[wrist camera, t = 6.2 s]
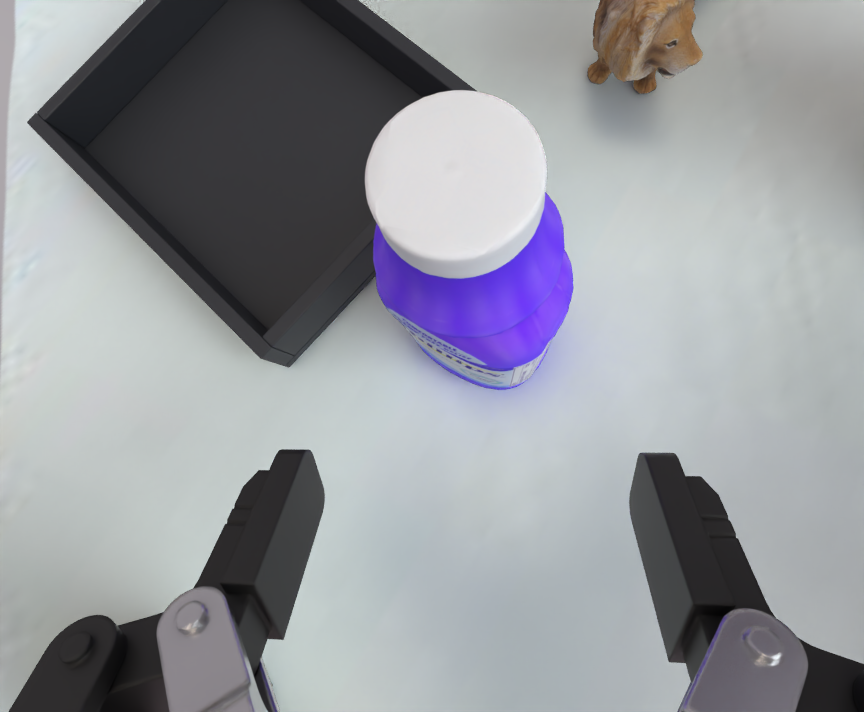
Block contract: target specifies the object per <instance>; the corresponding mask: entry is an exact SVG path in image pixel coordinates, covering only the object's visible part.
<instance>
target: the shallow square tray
mask: <svg viewBox="0 0 864 712" xmlns="http://www.w3.org/2000/svg"><path fill="white" fill-rule="evenodd" d="M452 90H468V91H476V90H475V89H473V88H472V87H471V86H469V85H468V84H467V83H466V82H464V81H463V80H462V79H460V78H459V77H458V76H456V75H455V74H454V73H452V72H451V71H450V70H449V69H447V68H446V67H445V66H443V65H442V64H441V63H439V62H438V61H437V60H435V59H434V58H433V57H432V56H430V55H429V54H428V53H426V52H425V51H424V50H422V49H421V48H420V47H418V46H417V45H416V44H414V43H413V42H412V41H411V40H409V39H408V38H407V37H405V36H404V35H403V34H401V33H400V32H399V31H397V30H396V29H395V28H394V27H392V26H391V25H390V24H388V23H387V22H386V21H384V20H383V19H382V18H380V17H379V16H378V15H376V14H375V13H374V12H373V11H371V10H370V9H369V8H367V7H366V6H365V5H363V4H362V3H361V2H359V1H358V0H146V1H145V2H144V3H143V4H142V5H141V6H140V7H139V8H138V9H137V10H136V11H135V12H134V13H133V14H132V15H131V16H130V17H129V18H128V19H127V20H126V21H125V22H124V23H123V24H122V25H121V26H120V27H119V28H118V29H117V30H116V31H115V32H114V34H113V35H112V36H111V37H110V38H109V39H108V40H107V41H106V42H105V43H104V44H103V45H102V46H101V47H100V48H99V49H98V50H97V51H96V52H95V53H94V54H93V55H92V56H91V57H90V58H89V59H88V60H87V61H86V62H85V63H84V64H83V65H82V66H81V67H80V68H79V70H78V71H77V72H76V73H75V74H74V75H73V76H72V77H71V78H70V79H69V80H68V81H67V82H66V83H65V84H64V85H63V86H62V87H61V88H60V89H59V90H58V91H57V92H56V93H55V94H54V95H53V96H52V97H51V98H50V99H49V100H48V101H47V102H46V103H45V104H44V106H43V107H42V108H41V109H40V110H39V111H38V112H37V113H38V114H37V113H35V114H34V115H33V117H32V118H31V119H30V120H29V121H28V122H27V123H28V124H29V125H30V126H31V127H32V128H33V129H34V130H35V131H36V132H37V133H38V134H39V135H40V136H41V137H42V138H43V139H44V140H45V141H46V142H47V143H48V144H49V145H50V146H51V147H52V148H53V149H54V150H55V151H56V152H57V153H58V154H59V156H60V157H61V158H62V159H63V160H64V161H65V162H66V163H67V164H68V165H69V166H70V167H71V168H72V169H73V170H74V171H75V172H76V173H77V174H78V175H79V176H80V177H81V178H82V179H83V180H84V181H85V182H86V183H87V184H88V185H89V186H90V187H91V188H92V189H93V190H94V191H95V192H96V193H97V194H98V195H99V196H100V197H101V198H102V199H103V200H104V201H105V202H106V203H107V204H108V205H109V206H110V207H111V208H112V209H113V210H114V211H115V212H116V213H117V214H118V215H119V216H120V217H121V218H122V219H123V220H124V221H125V222H126V223H127V224H128V225H129V226H130V227H131V228H132V229H133V230H134V231H135V232H136V233H137V234H138V235H139V236H140V237H141V238H142V239H143V240H144V241H145V242H146V243H147V244H148V245H149V246H150V247H151V248H152V249H153V250H154V251H155V252H156V253H157V254H158V255H159V256H160V257H161V258H162V259H163V260H164V261H165V262H166V263H167V264H168V265H169V266H170V267H171V268H172V270H173V271H174V272H175V273H176V274H177V275H178V276H179V277H180V278H181V279H182V280H183V281H184V282H185V283H186V284H187V285H188V286H189V287H190V288H191V289H192V290H193V291H194V292H195V293H196V294H197V295H198V296H199V297H200V298H201V299H202V300H203V301H204V302H205V303H206V304H207V305H208V306H209V307H210V308H211V309H212V310H213V311H214V312H215V313H216V314H217V315H218V316H219V317H220V318H221V319H222V320H223V321H224V322H225V323H226V324H227V325H228V326H229V327H230V328H231V329H232V330H233V331H234V332H235V333H236V334H237V335H238V336H239V337H240V338H241V339H242V340H243V341H244V342H245V343H246V344H247V345H248V346H249V347H250V348H251V349H252V350H253V351H254V352H255V353H256V354H257V355H258V356H259V357H260V358H261V359H264V360H267V361H270V362H274V363H277V364H280V365H283V366H286V367H290V366H291V365H292V364H293V363H294V362H295V361H296V359H297V358H298V357H299V356H300V355H301V354H302V353H303V352H304V351H305V350H306V349H307V348H308V347H309V346H310V345H311V343H312V342H313V341H314V340H315V339H316V338H317V337H318V336H319V335H320V334H321V333H322V332H323V331H324V330H325V329H326V327H327V326H328V325H329V324H330V323H331V322H332V321H333V320H334V319H335V318H336V317H337V316H338V315H339V314H340V313H341V311H342V310H343V309H344V308H345V307H346V306H347V305H348V304H349V303H350V302H351V301H352V300H353V299H354V298H355V297H356V295H357V294H358V293H359V292H360V291H361V290H362V289H363V288H364V287H365V286H366V285H367V284H368V283H369V282H370V280H371V279H372V278H373V277H374V276H375V275H376V271H375V267H374V262H373V246H374V243H373V241H374V234H375V228H376V224H377V223H376V221H375V219H374V218H373V215H372V213H371V210H370V208H369V205H368V202H367V198H366V189H365V170H366V164H367V160H368V157H369V154H370V152H371V149H372V146H373V144H374V141H375V140H376V138H377V137H378V135H379V133H380V132H381V130H382V129H383V127H384V126H385V125H386V124H387V123H388V122H389V121H390V120H391V119H392V118H393V117H394V116H395V115H396V114H397V113H398V112H400V111H401V110H402V109H404V108H405V107H407V106H408V105H410V104H412V103H414V102H416V101H418V100H420V99H421V98H423V97H426V96H430V95H433V94H436V93H439V92H445V91H452ZM476 92H477V91H476Z"/></svg>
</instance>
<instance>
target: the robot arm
mask: <svg viewBox="0 0 864 712" xmlns="http://www.w3.org/2000/svg"><path fill="white" fill-rule="evenodd" d="M324 499H325V495H324V488H323V484H322V481H321V478H320V475H319V472H318V469H317V466H316V462H315V459H314V456H313V454H312V452H311V451H310V450H283V449H282V450H279V451H278V453H277V454H276V456H275V458H274V461H273V463H272V465H271V467H270V470H259V471H258V472H257V473H256V474H255V475H254V476H253V477H252V478H251V479H250V480H249V481H248V482H247V483H246V484H245V485H244V486H243V488H242V490H241V492H240V495H239V497H238V499H237V501H236V503H235V508H234V509H232V511H231V513H230V515H229V517H228V520H227V524H225V526H224V528H223V530H222V532H221V534H220V536H219V538H218V540H217V542H216V545H215V547H214V549H213V551H212V553H211V555H210V557H209V559H208V561H207V563H206V565H205V567H204V570H203V572H202V574H201V576H200V578H199V580H198V582H197V583H196V585H195V586H194V588H193V589H191V590H189V591H187V592H185V593H183V594H182V595H180V596H179V597H177V598H176V599H175V600H174V601H173V602H172V603H171V604H170V605H169V606H168V607H167V608H166V610H165V611H164V612H163V613H160V614H157V615H154V616H150V617H147V618H143V619H140V620H136V621H133V622H129V623H126V624H122V625H119V626H117V625H116V624H115V623H114V622H113V621H112V620H111V619H110V618H108V617H106V616H103V615H93V616H88V617H85V618H83V619H80V620H78V621H76V622H74V623H73V624H71V625H70V626H68V627H67V628H65V629H64V630H63V631H62V632H60V633H59V634H58V635H57V636H56V637H55V638H54V640H53V641H52V642H51V643H50V645H49V646H48V648H47V649H46V650H45V652H44V654H43V655H42V657H41V659H40V660H39V662H38V664H37V665H36V667H35V669H34V670H33V672H32V674H31V675H30V677H29V679H28V680H27V682H26V684H25V685H24V687H23V689H22V690H21V692H20V694H19V695H18V697H17V699H16V700H15V702H14V704H13V705H12V707H11V709H10V710H9V712H280V709H279V706H278V703H277V700H276V697H275V694H274V691H273V688H272V685H271V682H270V679H269V676H268V673H267V670H266V667H265V664H264V661H263V659H262V653H263V650H264V647H265V644H266V641H267V639H281V640H283V639H284V636H285V633H286V630H287V626H288V623H289V620H290V617H291V613H292V610H293V607H294V604H295V600H296V597H297V594H298V591H299V587H300V584H301V581H302V578H303V574H304V571H305V568H306V565H307V562H308V558H309V555H310V552H311V549H312V545H313V542H314V539H315V536H316V532H317V529H318V526H319V523H320V519H321V516H322V513H323V509H324ZM629 504H630V515H631V520H632V524H633V528H634V531H635V535H636V539H637V543H638V547H639V550H640V554H641V558H642V562H643V566H644V569H645V573H646V577H647V581H648V585H649V588H650V592H651V596H652V600H653V604H654V607H655V611H656V615H657V619H658V622H659V626H660V630H661V634H662V638H663V641H664V645H665V649H666V653H667V657H668V660H669V662H677V663H686V666H687V669H688V673H689V676H690V680H691V683H690V685H689V687H688V689H687V691H686V694H685V696H684V698H683V700H682V702H681V704H680V707H679V709H678V711H677V712H864V664H862V663H859V662H856V661H853V660H850V659H847V658H844V657H841V656H838V655H835V654H832V653H830V652H827V651H824V650H821V649H818V648H816V647H813V646H811V645H809V644H807V643H806V642H804V641H802V640H801V639H799V638H797V637H796V635H795V634H794V633H793V632H792V631H791V630H790V629H789V628H788V627H787V626H786V625H785V624H783V623H782V622H781V621H780V620H778V619H776V617H775V616H774V615H773V613H772V612H771V610H770V609H769V607H768V605H767V603H766V601H765V599H764V596H763V594H762V592H761V590H760V587H759V585H758V583H757V580H756V578H755V576H754V574H753V571H752V569H751V567H750V565H749V562H748V560H747V558H746V556H745V553H744V551H743V549H742V547H741V544H740V542H739V540H738V538H736V533H735V531H734V529H733V526H732V524H731V522H730V521H729V520H728V515H727V513H726V511H725V508H724V506H723V504H722V502H721V499H720V497H719V495H718V494H717V493H716V492H715V491H714V490H713V489H712V488H711V487H710V486H709V485H708V484H707V483H706V481H705V480H704V479H703V478H702V477H700V476H685V474H684V472H683V469H682V467H681V464H680V462H679V459H678V457H677V456H676V454H674V453H640V454H639V456H638V459H637V464H636V468H635V473H634V477H633V482H632V487H631V491H630V500H629Z"/></svg>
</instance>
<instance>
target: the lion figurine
mask: <svg viewBox="0 0 864 712" xmlns="http://www.w3.org/2000/svg"><path fill="white" fill-rule="evenodd" d="M694 5H695V0H600V3H599V8H598V9H597V11H596V13H595V21H594V26H593V36H594V39H593V47H594V49H595V50H596V51H597V52H598V57H599V58H598V60H597V62H595V63H593V64H591V65H590V66H589V68H588V78H589V79H590V81H591V82H593V83H597V84H602V83H603V82H604V81H605V80H606V79H607V78H608V76H609V75H610V74H611V72H613V73H614V75H615V76H616V78H617V79H618V80H622V81H623V82H626V81H632V80H634V83H633V86H634V89H635V90H636V91H637V92H638V93H639V94H642V93H649V92H651V91H653V90H655V88H656V79H655V73H656V70H657V71H658V72H659V73H661V75H662V76H663V77H664V78H666V79H671V78H672V77H674V76H675V75H676V74H678V73H680V72H682V71H684V70H686V69H687V68H688V67H690V66H692V65H695V64H697V63H698V62H699V61H700V60H701V59H702V57H703V53H702V51H701V49H700V48H699V46H698V45H697V43H696V41H695V39H694V37H693V35H692V32H691V30H692V27H693V23H694V21H695V14H694V12H693V10H692V9H693V8H694Z"/></svg>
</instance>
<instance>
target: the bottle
mask: <svg viewBox="0 0 864 712" xmlns="http://www.w3.org/2000/svg"><path fill="white" fill-rule="evenodd" d="M546 182H547V160H546V155H545V151H544V148H543V145H542V142H541V140H540V137H539V135H538V133H537V132H536V130H535V128H534V127H533V125H532V124H531V123H530V121H529V120H528V119H527V117H526V116H525V115H523V114H522V113H521V112H520V111H518V110H517V109H516V108H515V107H514V106H512V105H511V104H509V103H508V102H506V101H504V100H502V99H500V98H498V97H496V96H493V95H489V94H486V93H482V92H476V91H468V90H452V91H445V92H439V93H436V94H433V95H430V96H426V97H423V98H421V99H420V100H418V101H416V102H414V103H412V104H410V105H408V106H407V107H405V108H404V109H402V110H401V111H400V112H398V113H397V114H396V115H395V116H394V117H393V118H392V119H391V120H390V121H389V122H388V123H387V124H386V125H385V126H384V127H383V129H382V130H381V132H380V133H379V135H378V137H377V138H376V140H375V141H374V144H373V146H372V149H371V152H370V154H369V157H368V160H367V164H366V170H365V189H366V198H367V202H368V205H369V208H370V210H371V213H372V215H373V218H374V219H375V221H376V223H377V224H376V228H375V234H374V241H373V243H374V246H373V262H374V267H375V271H376V284H377V290H378V293H379V296H380V298H381V300H382V301H383V303H384V305H385V306H386V308H387V310H388V311H389V312H390V313H391V314H392V315H393V316H394V317H395V318H396V319H397V320H398V321H400V322H401V323H402V324H403V326H404V327H405V328H406V329H407V330H408V332H409V333H410V334H411V335H412V336H413V338H414V339H415V340H416V341H417V343H418V344H419V346H420V347H421V348H422V350H423V351H424V352H425V353H426V354H427V355H428V356H429V357H430V358H432V359H433V360H434V361H435V362H436V363H438V364H439V365H441V366H442V367H443V368H445V369H446V370H448V371H449V372H451V373H453V374H455V375H457V376H458V377H460V378H462V379H464V380H467V381H469V382H471V383H473V384H476V385H479V386H482V387H485V388H491V389H497V390H502V389H510V388H513V387H517V386H519V385H520V384H522V383H523V382H524V381H526V380H527V379H528V378H530V377H531V375H532V374H533V373H534V371H535V370H536V369H537V368H538V367H539V365H540V363H541V361H542V360H543V358H544V356H545V354H546V352H547V350H548V346H549V344H550V342H551V340H552V338H553V337H554V336H555V334H556V332H557V330H558V329H559V327H560V325H561V324H562V322H563V320H564V318H565V316H566V314H567V312H568V309H569V304H570V301H571V297H572V292H573V274H572V266H571V263H570V260H569V258H568V255H567V253H566V252H565V250H564V233H563V224H562V220H561V217H560V214H559V211H558V209H557V208H556V205H555V204H554V202H553V201H552V200H551V199H550V197H549V196H548V195H547V193H546V192H545V189H546Z"/></svg>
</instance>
